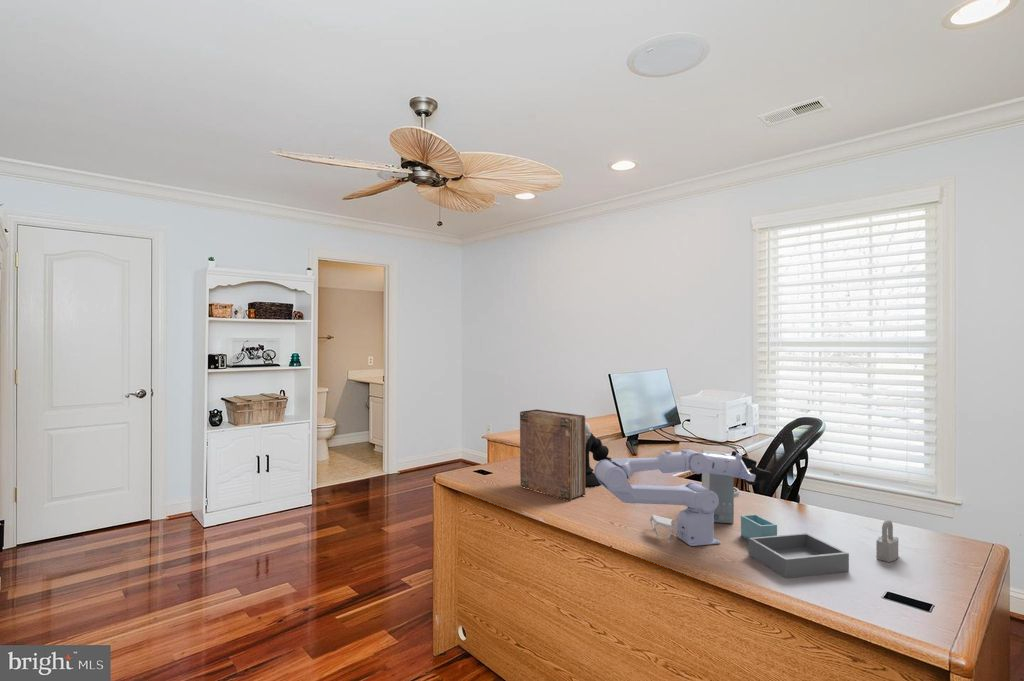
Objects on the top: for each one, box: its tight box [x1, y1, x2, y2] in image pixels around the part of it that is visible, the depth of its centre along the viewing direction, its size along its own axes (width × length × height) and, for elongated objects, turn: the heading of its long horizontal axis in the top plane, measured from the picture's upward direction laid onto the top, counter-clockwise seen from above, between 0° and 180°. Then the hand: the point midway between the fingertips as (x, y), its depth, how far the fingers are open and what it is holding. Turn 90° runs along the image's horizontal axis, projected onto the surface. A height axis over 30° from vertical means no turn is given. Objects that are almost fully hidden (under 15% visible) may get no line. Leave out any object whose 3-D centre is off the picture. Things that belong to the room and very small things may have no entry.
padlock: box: [875, 519, 899, 563], centre depth 138 cm, size 7×4×10 cm, turn 127°
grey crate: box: [748, 532, 850, 579], centre depth 135 cm, size 18×14×4 cm
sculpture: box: [585, 421, 613, 488], centre depth 214 cm, size 15×24×25 cm, turn 130°
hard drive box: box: [701, 450, 735, 524], centre depth 171 cm, size 16×8×20 cm, turn 168°
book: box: [519, 409, 586, 502], centre depth 198 cm, size 25×9×30 cm, turn 44°
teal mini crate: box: [740, 513, 778, 541], centre depth 149 cm, size 5×9×6 cm, turn 11°
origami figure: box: [649, 514, 678, 544], centre depth 154 cm, size 12×8×5 cm
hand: (763, 470), depth 153 cm, fingers open, 7 cm apart
